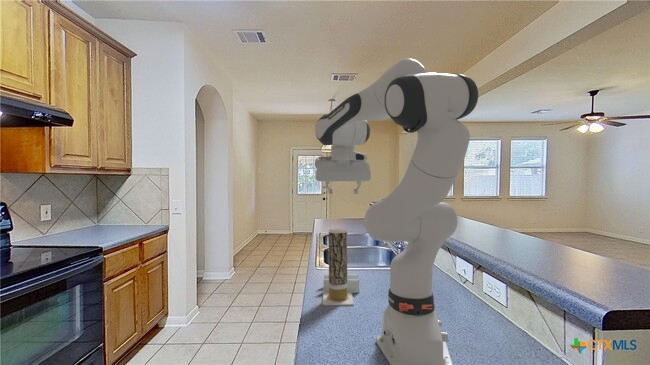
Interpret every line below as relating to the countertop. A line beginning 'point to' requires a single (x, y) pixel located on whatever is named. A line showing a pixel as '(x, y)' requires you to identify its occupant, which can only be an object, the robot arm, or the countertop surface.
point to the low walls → (351, 283)
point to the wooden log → (338, 264)
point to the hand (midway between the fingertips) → (343, 193)
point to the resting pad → (329, 301)
